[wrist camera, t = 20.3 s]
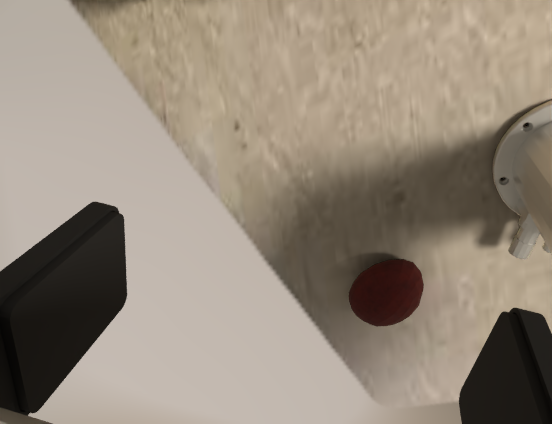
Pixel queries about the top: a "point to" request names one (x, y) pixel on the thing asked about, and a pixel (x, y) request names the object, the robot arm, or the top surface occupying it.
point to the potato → (387, 292)
